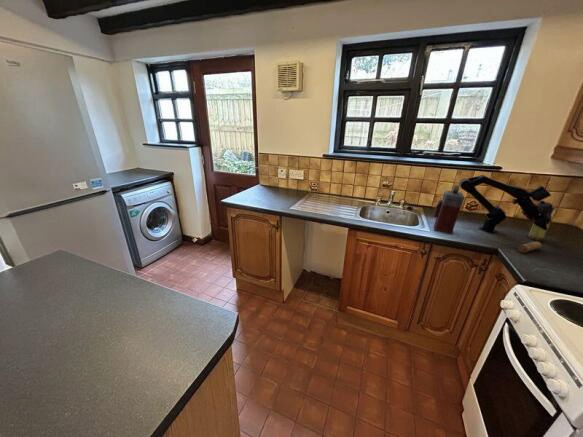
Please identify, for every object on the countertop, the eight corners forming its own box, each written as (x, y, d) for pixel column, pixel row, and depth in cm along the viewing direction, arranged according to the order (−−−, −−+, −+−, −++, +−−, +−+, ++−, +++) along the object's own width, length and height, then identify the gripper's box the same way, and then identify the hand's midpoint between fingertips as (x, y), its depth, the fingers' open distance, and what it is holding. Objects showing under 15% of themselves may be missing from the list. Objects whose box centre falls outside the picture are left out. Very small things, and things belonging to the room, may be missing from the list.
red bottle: (429, 224, 153) (442, 181, 142) (450, 228, 149) (465, 184, 137) (430, 230, 146) (443, 185, 134) (451, 234, 141) (467, 188, 130)
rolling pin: (523, 254, 123) (526, 248, 122) (514, 250, 127) (517, 244, 125) (541, 249, 129) (545, 243, 127) (532, 246, 132) (535, 239, 130)
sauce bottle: (544, 242, 137) (562, 209, 129) (532, 240, 138) (548, 208, 130) (536, 236, 143) (552, 205, 134) (524, 235, 144) (539, 204, 135)
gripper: (553, 203, 124) (571, 226, 124) (537, 193, 140) (553, 214, 140) (527, 214, 130) (544, 236, 131) (514, 203, 146) (530, 223, 146)
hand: (543, 227), depth 137 cm, fingers closed on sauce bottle, 6 cm apart
